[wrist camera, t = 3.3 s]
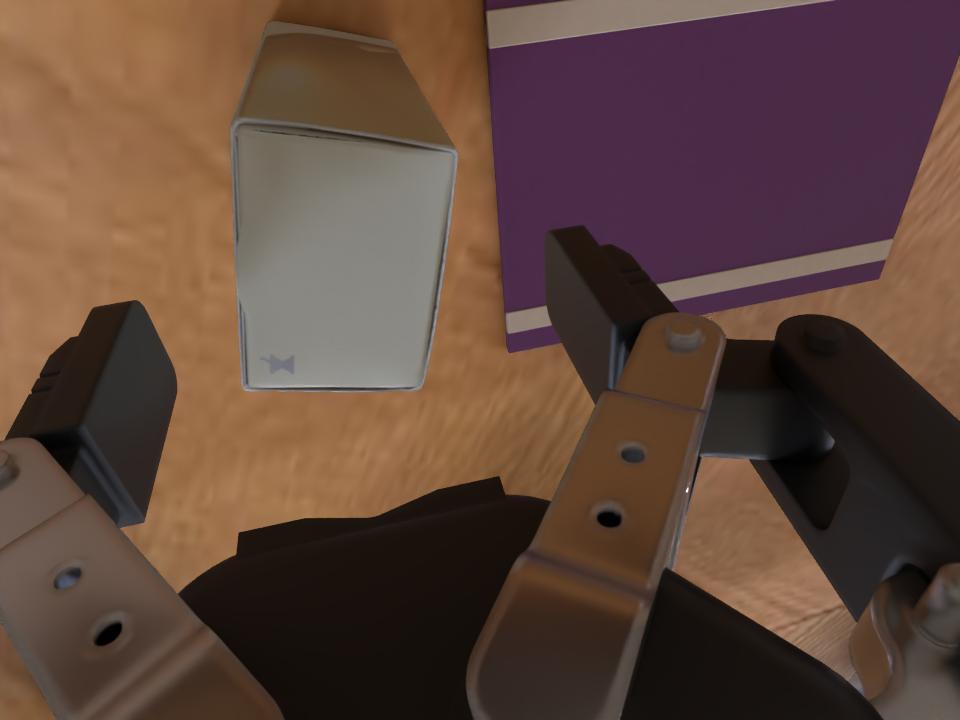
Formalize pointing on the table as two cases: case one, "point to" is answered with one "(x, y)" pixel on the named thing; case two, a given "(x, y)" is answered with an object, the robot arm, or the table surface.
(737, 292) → the cloth
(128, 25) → the table surface
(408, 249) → the cosmetic box
